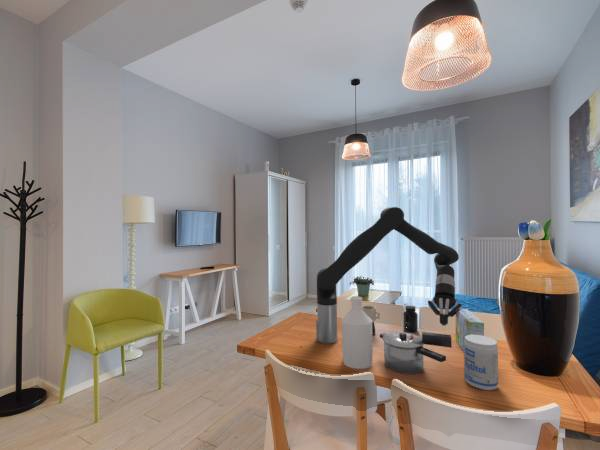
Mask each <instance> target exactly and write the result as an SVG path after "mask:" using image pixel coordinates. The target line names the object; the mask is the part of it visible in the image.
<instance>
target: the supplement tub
mask: <svg viewBox="0 0 600 450" xmlns="http://www.w3.org/2000/svg"><path fill="white" fill-rule="evenodd" d="M463 376H464V381H465V382H466V383H467V384H468V385H469V386H471V387H474V388H475V387H476V389H478V388H479V390H484V391H494V390H496V389H498V387H499V346H498V341H497V340H496V339H494V338H492V337H490V336H486V335H484V336H482V335H466V336H465V340H464V351H463Z"/></svg>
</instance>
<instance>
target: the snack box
mask: <svg viewBox="0 0 600 450" xmlns="http://www.w3.org/2000/svg"><path fill="white" fill-rule="evenodd" d="M466 335H482V336H485V323H484V322H483V321H482V320H481V319H480V318H478V317H477V315H475V314H473V313H472V312H471V311H470V310H469V309H467V308H462V309H461V310H460V311H459V312H458V313H456V314H455V341H456V343H457V344H458V345H459V347H460V348H461V350H462V351H463V352H464V340H465V336H466Z"/></svg>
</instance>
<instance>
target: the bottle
mask: <svg viewBox="0 0 600 450" xmlns="http://www.w3.org/2000/svg"><path fill="white" fill-rule="evenodd" d="M350 302H351V309H350V310H349V311H348V312H347V313H346V314H345V315H344V317H342V318H341V338H342V339H341V342H342V343H341V344H342V363H343V365H345V366H346V367H349V368H352V369H357V370H359V369H360V370H363V369H369V368H370V367H372V365H373V334H372V320H371V319H370V318H369V317H368V316H367V315H366V313H365V312H364V311H363V310H362V306H363V303H362V302H363V297H362V296H357V295H356V296H350Z"/></svg>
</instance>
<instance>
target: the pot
mask: <svg viewBox="0 0 600 450" xmlns="http://www.w3.org/2000/svg"><path fill="white" fill-rule="evenodd" d="M385 334H387V333H386V332H382V333H379V338H380V339H382V340H383V336H384V335H385ZM383 353H384V355H383V360H384V361H383V363H384V366H385V367H386V368H387V369H388V370H391V371H392V372H395V373H398V374H404V375H416V374H420V373H422V372H423V371H424V366H425V365H424V356H425V357H427V358H430V359H432V360H435V361H437V362H440V363H443V362H446V361H447V356H446V355H444V354H440V353H439V352H435V351H433V350H430V349H428V348H425V347H424V345H423V346H422V347H420V348H415V349H404V348H398V347H394V346H391V345H388V344H387V343H385V342H384V341H383Z"/></svg>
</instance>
